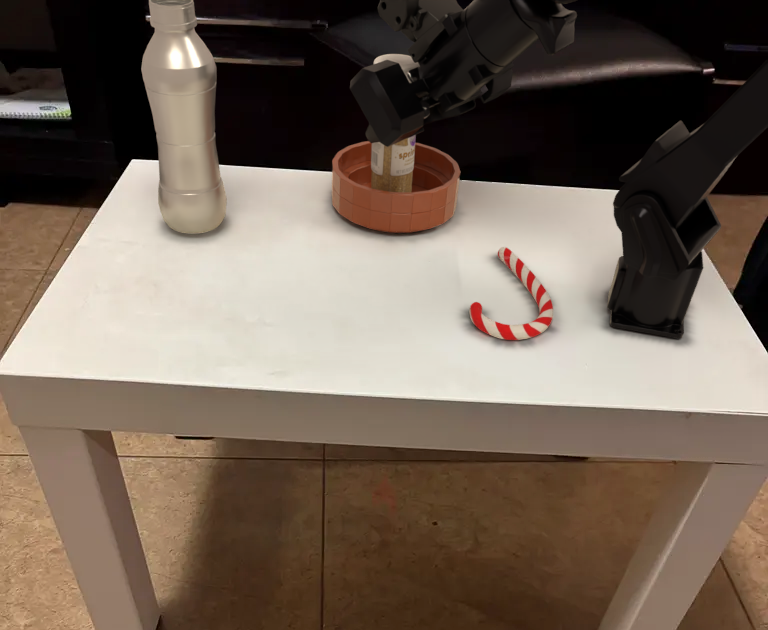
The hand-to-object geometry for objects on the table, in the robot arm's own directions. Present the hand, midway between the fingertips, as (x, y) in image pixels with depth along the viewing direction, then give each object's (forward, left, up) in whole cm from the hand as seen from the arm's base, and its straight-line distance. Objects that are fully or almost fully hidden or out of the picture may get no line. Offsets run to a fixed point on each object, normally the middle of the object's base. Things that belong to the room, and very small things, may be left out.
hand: (383, 131), depth 82 cm
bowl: (-1, -1, -8) cm, 8 cm away
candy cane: (-15, +13, -8) cm, 22 cm away
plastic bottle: (+17, +10, -8) cm, 21 cm away
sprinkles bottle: (-1, +1, -7) cm, 7 cm away
